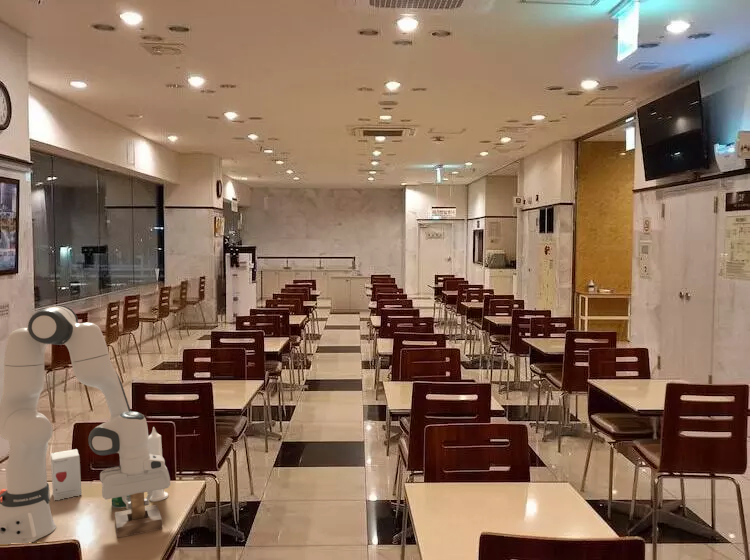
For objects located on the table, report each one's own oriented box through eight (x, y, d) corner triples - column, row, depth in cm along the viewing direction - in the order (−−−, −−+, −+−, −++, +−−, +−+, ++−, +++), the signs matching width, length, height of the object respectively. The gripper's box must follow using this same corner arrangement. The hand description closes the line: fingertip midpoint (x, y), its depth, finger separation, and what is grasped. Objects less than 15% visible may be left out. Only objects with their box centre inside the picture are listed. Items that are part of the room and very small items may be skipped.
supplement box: (54, 501, 231) (51, 459, 230) (52, 493, 238) (49, 452, 237) (82, 496, 235) (79, 454, 234) (79, 488, 243) (77, 448, 242)
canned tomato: (106, 507, 224) (104, 475, 223) (121, 498, 231) (119, 467, 231) (127, 509, 222) (125, 476, 221) (141, 499, 230) (139, 468, 229)
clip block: (117, 537, 200) (116, 528, 200) (115, 521, 212) (114, 512, 212) (162, 528, 205) (161, 519, 205) (157, 513, 217) (157, 504, 217)
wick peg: (132, 522, 206) (130, 494, 206) (131, 518, 210) (129, 490, 209) (146, 520, 208) (144, 492, 207) (144, 515, 212) (142, 488, 211)
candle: (142, 499, 230) (138, 428, 228) (158, 492, 236) (154, 423, 234) (157, 502, 226) (153, 430, 225) (172, 495, 233) (168, 425, 231)
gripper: (99, 472, 201) (102, 517, 201) (169, 460, 209) (172, 503, 210) (99, 466, 206) (101, 509, 207) (167, 455, 215) (169, 496, 216)
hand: (137, 506), depth 209 cm, fingers closed on wick peg, 4 cm apart
